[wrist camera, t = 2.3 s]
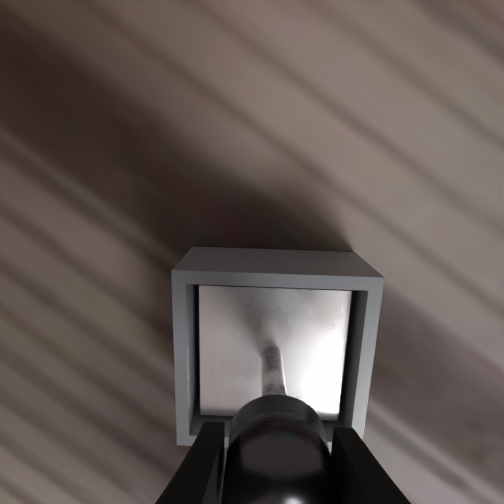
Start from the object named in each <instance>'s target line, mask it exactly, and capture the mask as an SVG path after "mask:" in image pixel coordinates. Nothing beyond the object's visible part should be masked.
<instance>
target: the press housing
mask: <svg viewBox="0 0 504 504" xmlns="http://www.w3.org/2000/svg"><path fill="white" fill-rule="evenodd" d="M171 277H172V308H173V340H174V371H175V403H176V434H177V445H183V446H192V445H193V443H194V441H195V439H196V437H197V435H198V433H199V431H200V429H201V427H202V424H203V423H205V422H206V421H211V422H225V444H224V447H227V448H228V440H229V432H230V426H231V422H232V420H233V418H234V416H220V415H200V323H199V285H200V284H202V285H229V286H256V287H284V288H311V289H338V290H351V291H352V294H351V303H350V312H349V321H348V331H347V340H346V349H345V358H344V367H343V376H342V385H341V394H340V403H339V413H338V421H334V420H321V422H322V425H323V428H324V432H325V436H326V440H327V444H328V448H329V452H331V448H332V438H333V429H334V427H347V428H354V430H355V431H356V432H357V433H358V435H359V436H360V438H361V439H362V440H363V434H364V427H365V419H366V412H367V404H368V397H369V389H370V382H371V374H372V367H373V359H374V352H375V344H376V337H377V330H378V322H379V315H380V307H381V300H382V292H383V285H384V277H383V276H382V275H381V274H380V273H378V272H377V271H376V270H375V269H374V268H373V267H371V266H370V265H369V264H368V263H367V262H365V261H364V260H363V259H362V258H361V257H360V256H358V255H357V254H356V253H355V252H339V251H310V250H281V249H252V248H223V247H194V246H193V247H192V248H191V249H190V250H189V251H188V252H187V253H186V254H185V256H184V257H183V258H182V259H181V260H180V261H179V262H178V263H177V264H176V265H175V266H174V268H173V269H172V270H171Z"/></svg>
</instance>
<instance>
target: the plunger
mask: <svg viewBox="0 0 504 504" xmlns="http://www.w3.org/2000/svg"><path fill="white" fill-rule="evenodd" d="M351 294H352V291H351V290H338V289H311V288H284V287H256V286H229V285H202V284H200V285H199V323H200V415H220V416H234V418H233V420H232V422H231V426H230V432H229V440H228V449H227V457H226V466H225V474H224V482H223V491H222V500H221V504H341V498H340V493H339V489H338V485H337V481H336V477H335V473H334V469H333V465H332V461H331V457H330V452H329V448H328V444H327V440H326V436H325V432H324V428H323V425H322V422H321V420H334V421H338V413H339V403H340V394H341V385H342V376H343V367H344V358H345V349H346V340H347V331H348V321H349V312H350V303H351Z"/></svg>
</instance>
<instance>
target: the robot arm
mask: <svg viewBox="0 0 504 504" xmlns="http://www.w3.org/2000/svg"><path fill="white" fill-rule="evenodd" d="M224 444H225V422H211V421H206V422H205V423H203V424H202V427H201V429H200V431H199V433H198V435H197V437H196V439H195V441H194V443H193V445H192V447H191V448H190V450H189V452H188V454H187V455H186V457H185V459H184V460H183V462H182V464H181V465H180V467H179V468H178V470H177V472H176V473H175V475H174V477H173V478H172V480H171V481H170V483H169V484H168V486H167V487H166V489H165V490H164V491H163V493H162V494H161V496H160V497H159V499H158V500H157V501H156V503H155V504H221V500H222V491H223V480H224ZM331 461H332V465H333V469H334V473H335V477H336V481H337V485H338V489H339V493H340V498H341V504H411V503H410V502H409V501H408V499H407V498H406V497H405V496H404V495H403V493H402V492H401V491H400V489H399V488H398V487H397V486H396V484H395V483H394V482H393V481H392V479H391V478H390V477H389V476H388V474H387V473H386V472H385V470H384V469H383V468H382V466H381V465H380V464H379V462H378V461H377V460H376V458H375V457H374V456H373V454H372V453H371V452H370V450H369V449H368V447H367V446H366V445H365V443H364V442H363V440H362V439H361V438H360V436H359V435H358V433H357V432H356V431H355V430H354V428H347V427H334V429H333V438H332V448H331Z"/></svg>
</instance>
